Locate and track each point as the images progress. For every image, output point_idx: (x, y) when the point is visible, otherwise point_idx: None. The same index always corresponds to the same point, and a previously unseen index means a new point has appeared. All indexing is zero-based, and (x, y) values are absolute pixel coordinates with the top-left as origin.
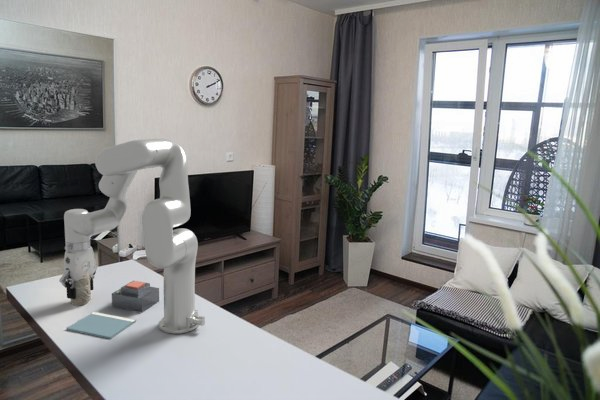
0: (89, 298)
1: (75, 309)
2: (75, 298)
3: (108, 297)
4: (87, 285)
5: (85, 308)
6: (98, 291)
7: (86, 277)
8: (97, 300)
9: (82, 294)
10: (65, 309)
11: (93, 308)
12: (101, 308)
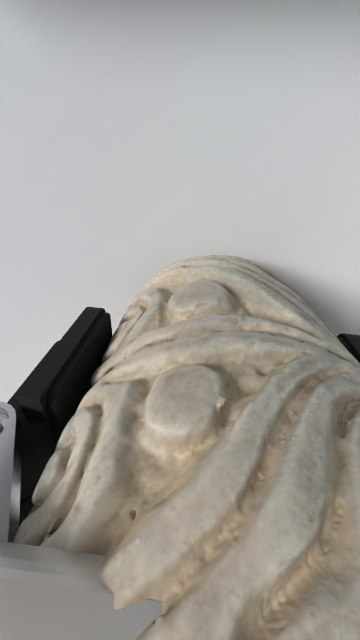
0: (201, 258)
1: (335, 275)
2: (344, 334)
3: (37, 157)
4: (228, 355)
5: (311, 208)
6: (12, 309)
7: (285, 582)
8: (133, 216)
9: (309, 308)
10: (336, 335)
11: (307, 123)
12: (300, 7)
